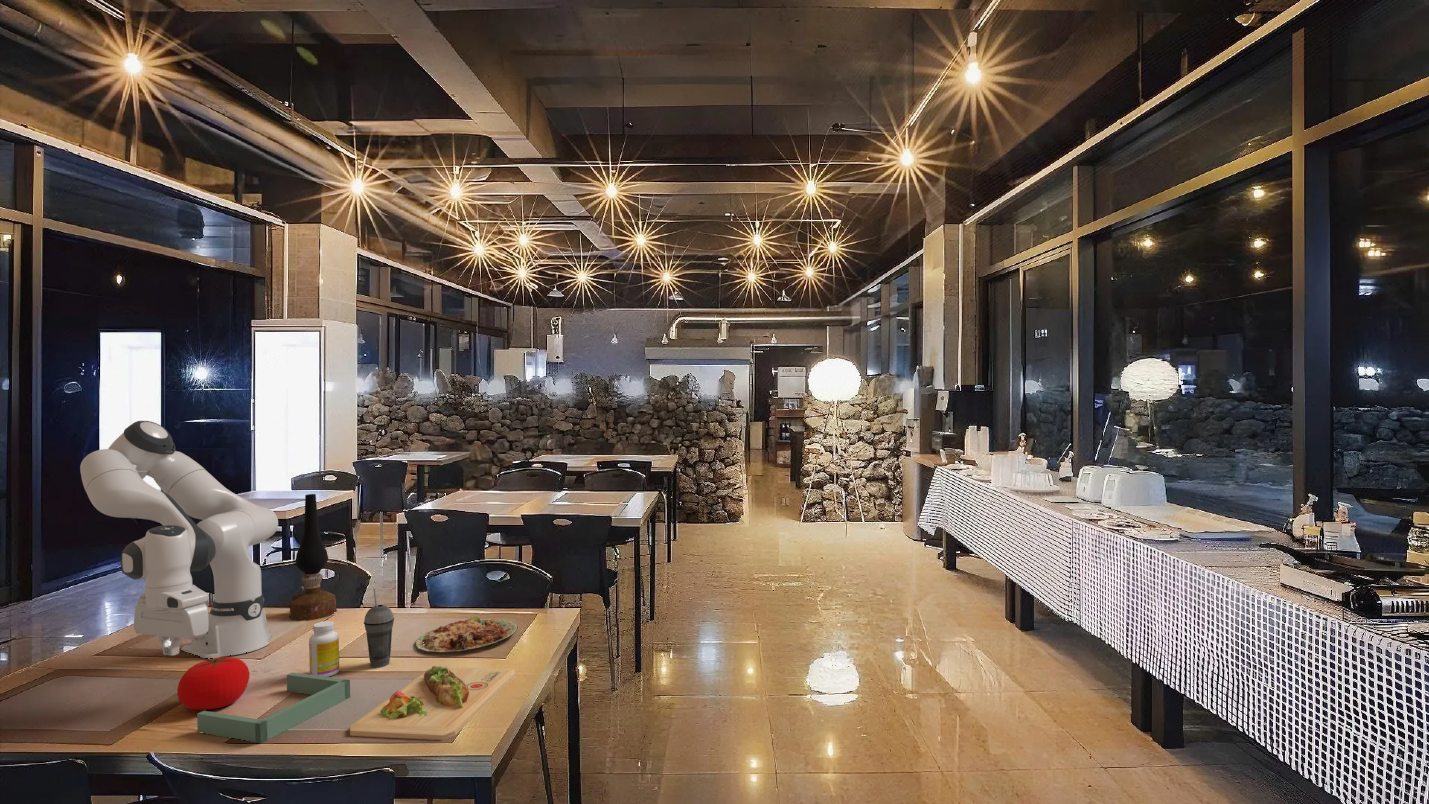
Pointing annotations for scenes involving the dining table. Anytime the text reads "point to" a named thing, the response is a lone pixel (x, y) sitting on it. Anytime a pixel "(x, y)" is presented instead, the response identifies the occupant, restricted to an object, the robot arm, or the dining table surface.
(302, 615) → the oil lamp
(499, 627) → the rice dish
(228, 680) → the tomato
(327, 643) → the supplement bottle
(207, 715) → the corral
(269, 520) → the robot arm
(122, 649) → the dining table surface
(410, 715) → the cutting board
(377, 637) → the beverage cup
